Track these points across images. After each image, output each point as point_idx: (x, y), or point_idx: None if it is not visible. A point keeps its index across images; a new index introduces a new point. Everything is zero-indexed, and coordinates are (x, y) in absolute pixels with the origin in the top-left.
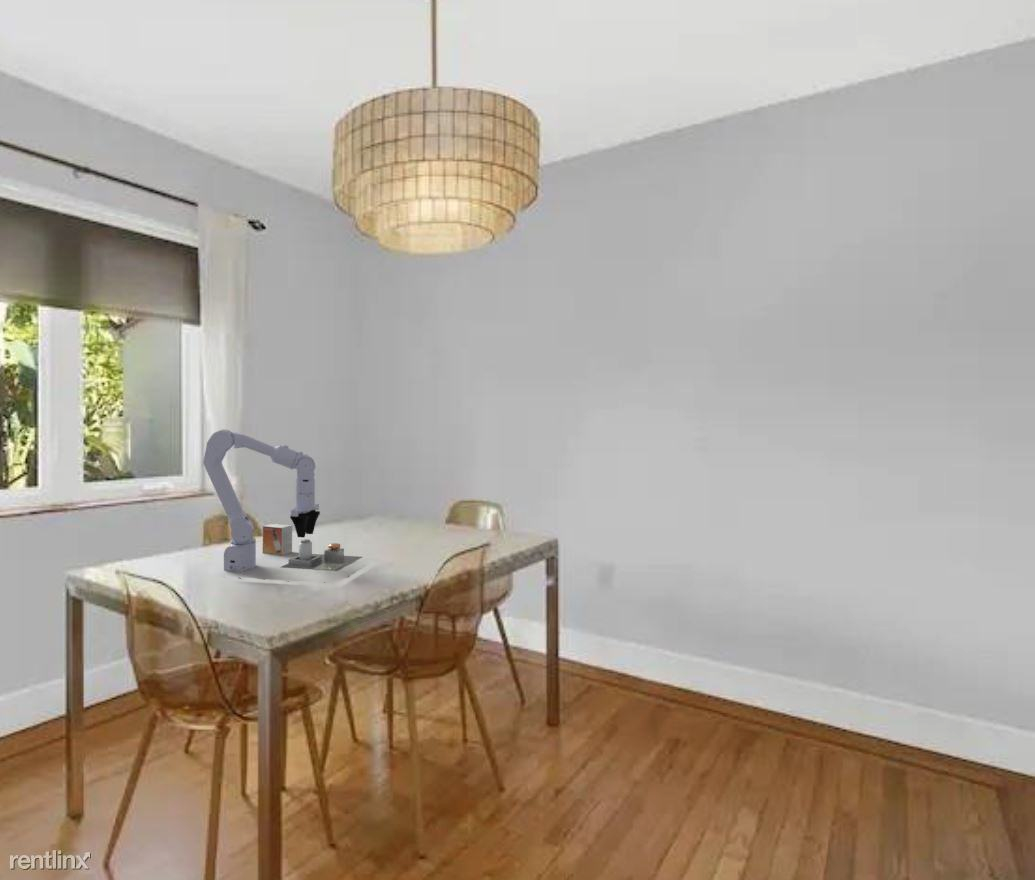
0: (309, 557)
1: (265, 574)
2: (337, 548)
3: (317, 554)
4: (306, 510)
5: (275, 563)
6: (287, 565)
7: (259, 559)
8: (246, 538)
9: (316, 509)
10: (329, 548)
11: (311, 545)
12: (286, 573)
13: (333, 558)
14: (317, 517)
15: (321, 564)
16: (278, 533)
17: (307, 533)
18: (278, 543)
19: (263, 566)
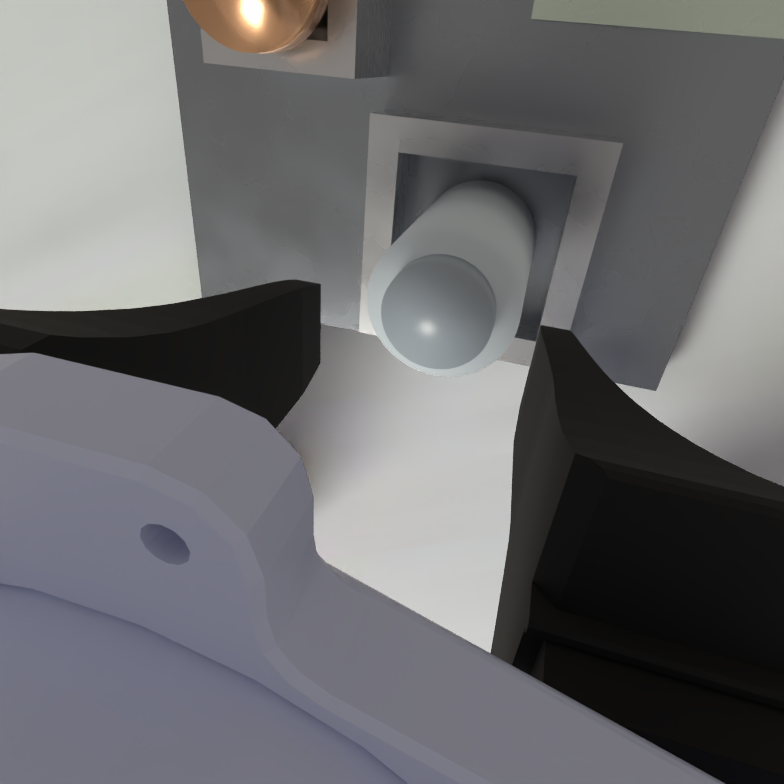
0: (506, 201)
1: (751, 445)
2: None
3: (201, 232)
4: (655, 770)
5: (418, 453)
6: (594, 352)
7: (340, 544)
8: None
9: (187, 391)
10: (324, 10)
11: (452, 219)
12: (744, 307)
13: None
14: (62, 315)
15: (592, 19)
16: None
17: (316, 348)
18: None
19: (502, 499)
